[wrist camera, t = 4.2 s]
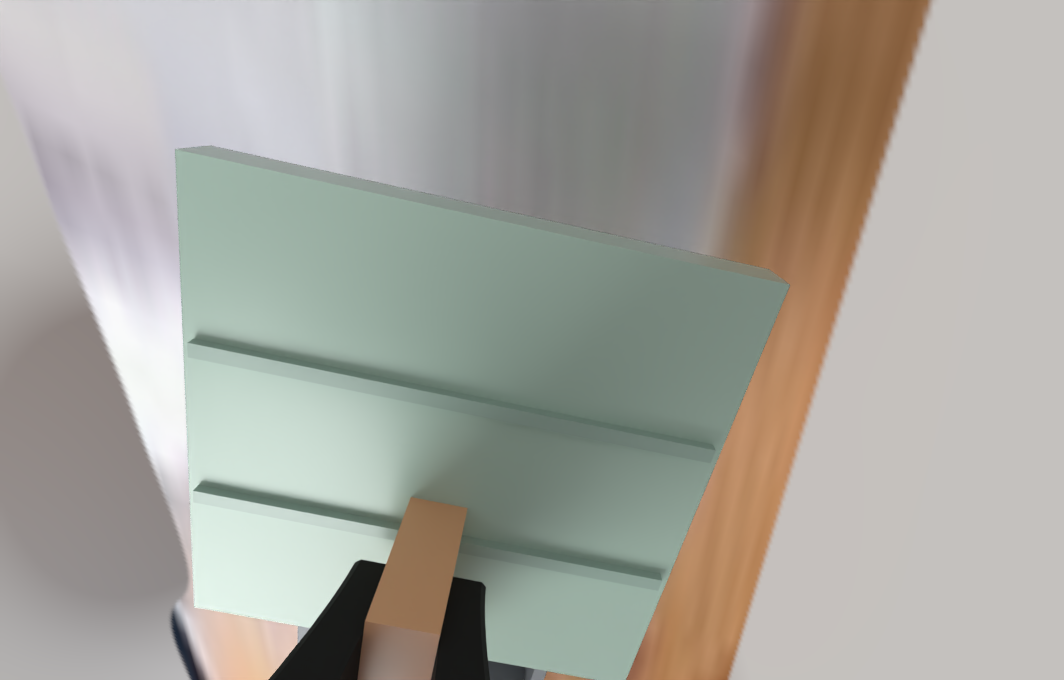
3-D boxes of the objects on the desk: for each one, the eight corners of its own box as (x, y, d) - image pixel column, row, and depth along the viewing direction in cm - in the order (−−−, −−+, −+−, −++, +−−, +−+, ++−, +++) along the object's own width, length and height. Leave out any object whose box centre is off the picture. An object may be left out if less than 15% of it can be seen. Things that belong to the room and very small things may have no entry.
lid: (615, 621, 15) (642, 834, 11) (235, 550, 14) (95, 743, 10) (754, 258, 11) (889, 358, 7) (234, 142, 10) (2, 166, 6)
